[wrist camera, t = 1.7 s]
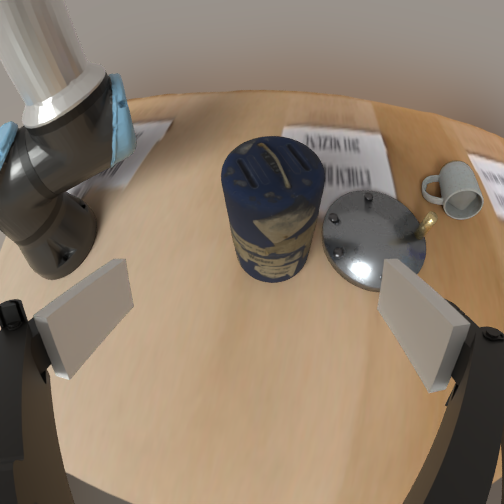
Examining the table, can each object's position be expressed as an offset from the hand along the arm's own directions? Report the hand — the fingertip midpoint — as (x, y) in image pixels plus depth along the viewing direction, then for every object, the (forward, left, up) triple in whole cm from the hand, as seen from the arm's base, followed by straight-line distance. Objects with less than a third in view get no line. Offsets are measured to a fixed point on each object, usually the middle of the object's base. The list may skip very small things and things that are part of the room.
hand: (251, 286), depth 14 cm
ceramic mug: (+33, +23, -23) cm, 46 cm away
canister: (+1, +13, -22) cm, 26 cm away
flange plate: (+16, +15, -22) cm, 31 cm away
